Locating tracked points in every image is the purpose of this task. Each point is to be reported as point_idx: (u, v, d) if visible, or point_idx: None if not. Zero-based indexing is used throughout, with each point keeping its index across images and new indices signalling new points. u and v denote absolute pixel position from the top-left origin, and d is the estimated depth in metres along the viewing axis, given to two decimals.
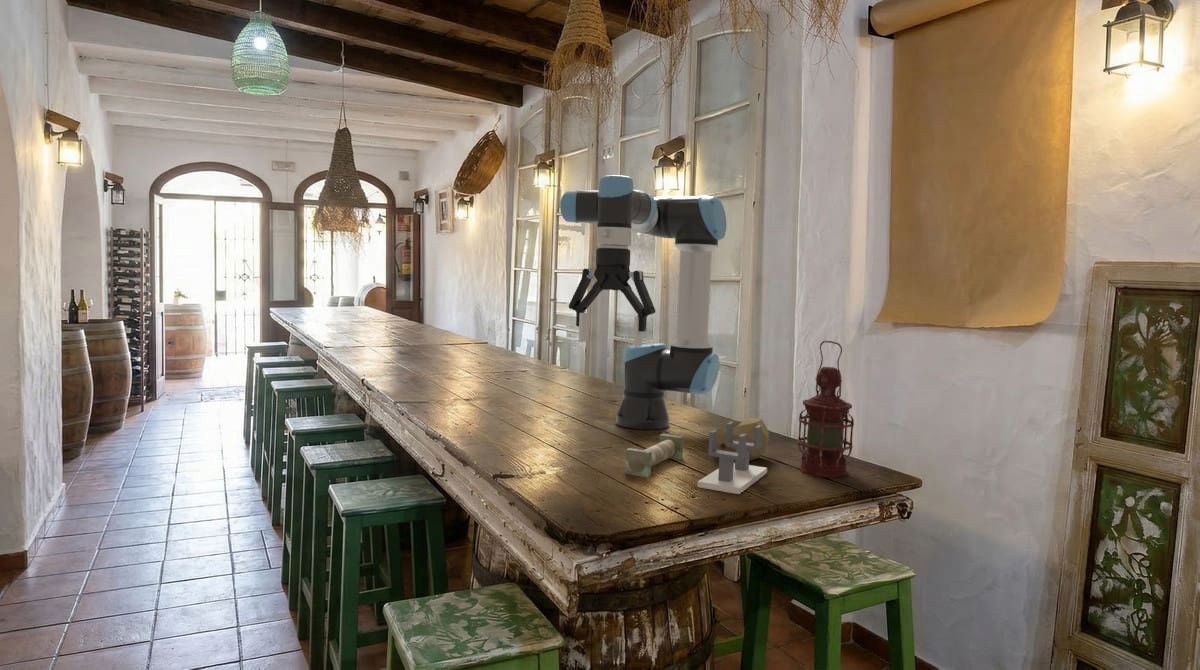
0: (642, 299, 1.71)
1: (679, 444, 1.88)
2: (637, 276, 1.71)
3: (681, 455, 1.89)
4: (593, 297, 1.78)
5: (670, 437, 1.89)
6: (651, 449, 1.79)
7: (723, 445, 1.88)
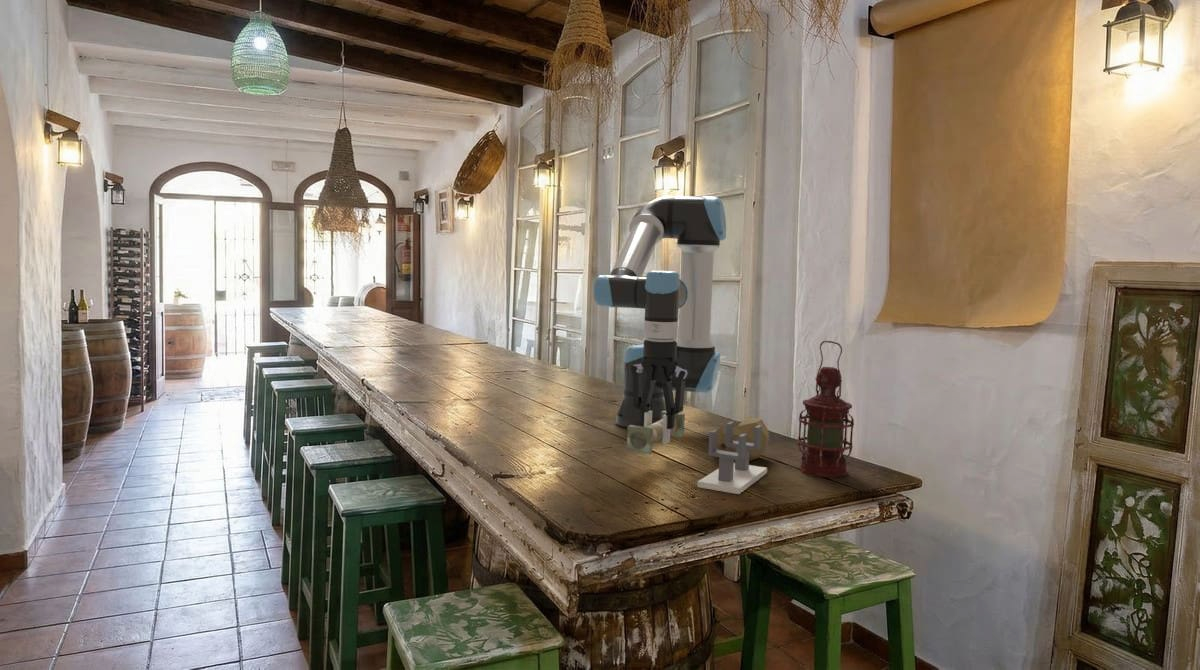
0: (676, 398, 1.78)
1: (680, 421, 1.88)
2: (682, 376, 1.77)
3: (682, 432, 1.89)
4: (651, 391, 1.82)
5: None
6: (652, 426, 1.79)
7: (723, 445, 1.88)
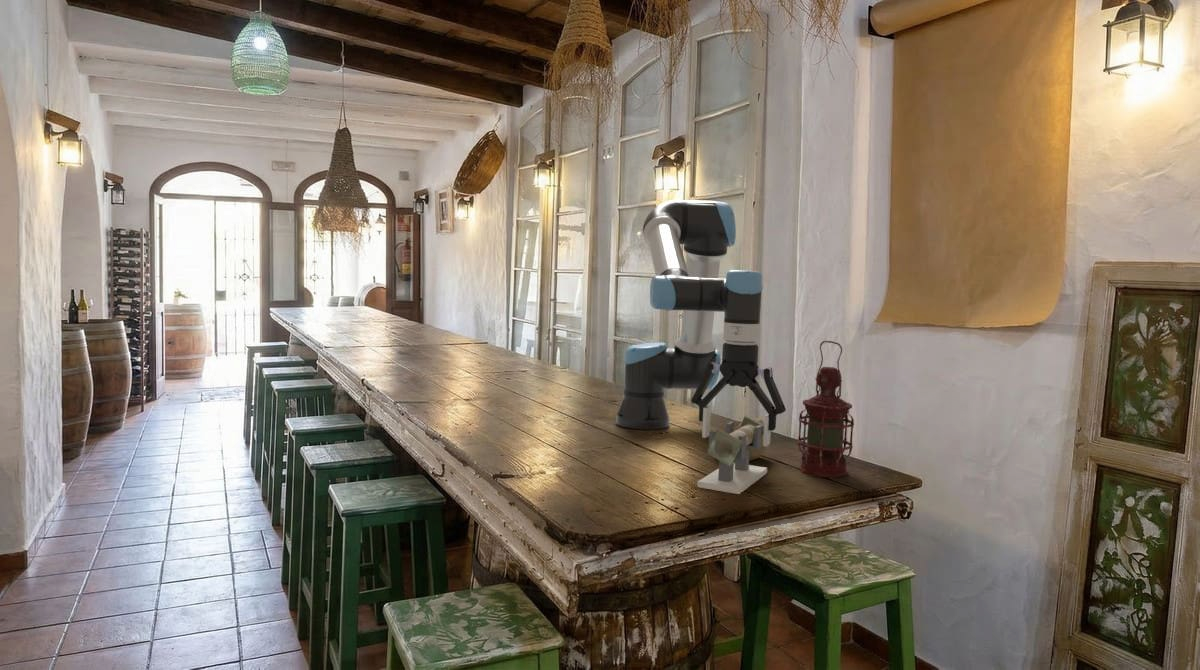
0: (773, 398, 1.66)
1: (762, 433, 1.78)
2: (768, 374, 1.67)
3: None
4: (718, 392, 1.73)
5: (755, 423, 1.78)
6: (739, 435, 1.68)
7: None
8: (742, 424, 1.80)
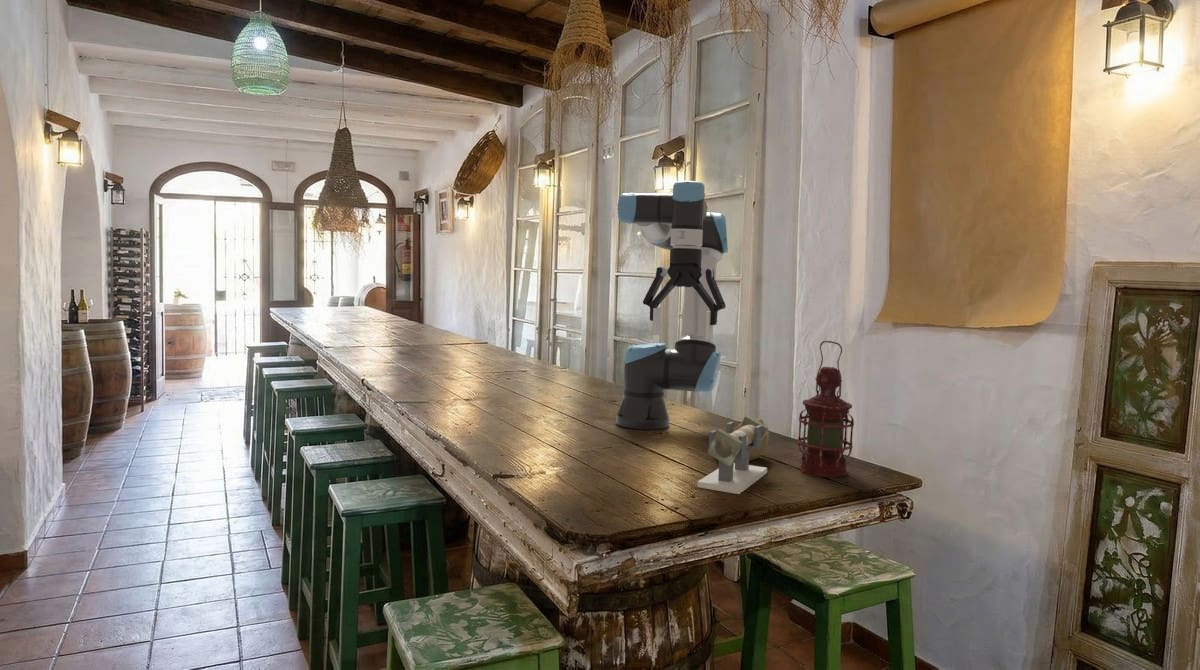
0: (714, 295, 1.86)
1: (762, 433, 1.78)
2: (709, 274, 1.86)
3: None
4: (666, 293, 1.92)
5: (755, 423, 1.78)
6: (739, 435, 1.68)
7: None
8: (742, 424, 1.80)
